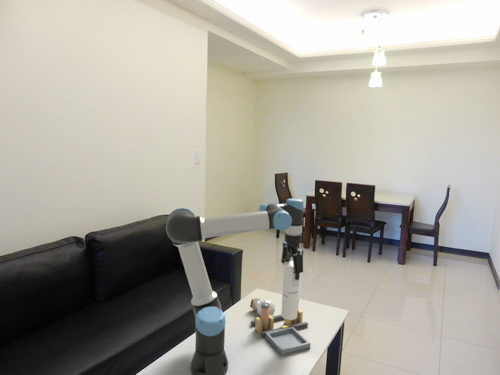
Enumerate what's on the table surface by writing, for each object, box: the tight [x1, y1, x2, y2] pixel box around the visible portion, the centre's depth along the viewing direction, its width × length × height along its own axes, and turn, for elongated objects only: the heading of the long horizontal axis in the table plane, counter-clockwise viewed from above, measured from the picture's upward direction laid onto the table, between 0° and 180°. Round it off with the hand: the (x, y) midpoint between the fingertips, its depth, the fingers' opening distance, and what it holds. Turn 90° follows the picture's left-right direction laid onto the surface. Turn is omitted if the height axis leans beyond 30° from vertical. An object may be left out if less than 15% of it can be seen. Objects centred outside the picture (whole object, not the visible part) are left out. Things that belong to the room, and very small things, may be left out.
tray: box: [265, 327, 311, 357], centre depth 160 cm, size 15×15×2 cm
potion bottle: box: [249, 297, 276, 317], centre depth 186 cm, size 9×10×15 cm
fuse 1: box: [260, 303, 270, 332], centre depth 171 cm, size 4×4×13 cm
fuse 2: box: [291, 298, 300, 325], centre depth 178 cm, size 4×4×13 cm
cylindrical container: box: [280, 260, 300, 320], centre depth 157 cm, size 7×7×25 cm
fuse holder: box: [250, 308, 309, 338], centre depth 175 cm, size 26×13×6 cm, turn 115°
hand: (290, 282), depth 157 cm, fingers closed on cylindrical container, 7 cm apart
